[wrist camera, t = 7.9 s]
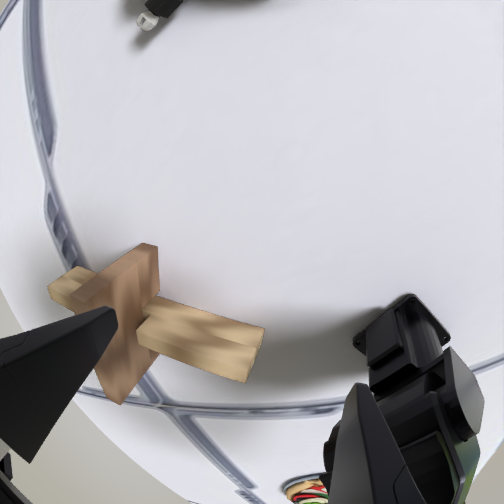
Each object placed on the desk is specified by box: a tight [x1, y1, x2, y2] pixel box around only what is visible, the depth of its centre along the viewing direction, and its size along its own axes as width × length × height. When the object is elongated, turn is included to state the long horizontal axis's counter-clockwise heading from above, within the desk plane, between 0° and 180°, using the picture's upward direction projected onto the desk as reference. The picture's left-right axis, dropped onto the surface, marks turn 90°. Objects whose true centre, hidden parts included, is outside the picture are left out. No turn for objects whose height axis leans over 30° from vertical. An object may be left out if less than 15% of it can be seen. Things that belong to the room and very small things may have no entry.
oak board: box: [47, 266, 265, 383], centre depth 24 cm, size 22×2×5 cm, turn 83°
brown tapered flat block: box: [70, 243, 160, 405], centre depth 22 cm, size 12×2×9 cm, turn 173°
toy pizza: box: [284, 474, 329, 504], centre depth 34 cm, size 28×28×4 cm
